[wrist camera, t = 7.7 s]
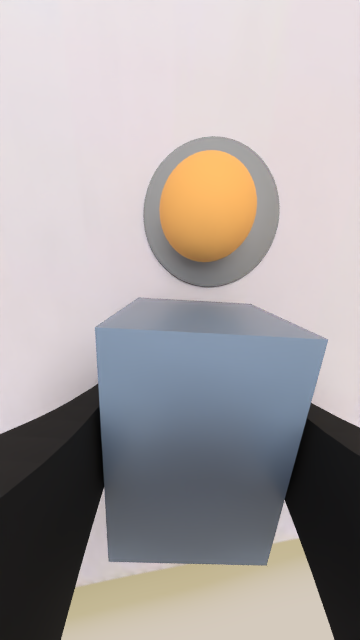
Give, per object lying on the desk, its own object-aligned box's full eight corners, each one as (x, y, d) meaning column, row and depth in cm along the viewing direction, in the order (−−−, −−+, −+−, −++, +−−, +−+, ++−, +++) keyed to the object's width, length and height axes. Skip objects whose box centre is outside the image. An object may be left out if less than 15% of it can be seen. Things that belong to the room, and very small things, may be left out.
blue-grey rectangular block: (229, 441, 12) (266, 565, 7) (138, 438, 12) (108, 561, 7) (250, 303, 10) (328, 339, 5) (138, 297, 10) (95, 327, 5)
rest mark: (210, 311, 11) (210, 312, 11) (116, 221, 10) (115, 220, 10) (304, 216, 10) (307, 215, 10) (211, 101, 9) (212, 98, 9)
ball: (230, 88, 6) (210, 178, 10) (127, 166, 6) (148, 223, 10) (301, 195, 6) (253, 241, 10) (200, 269, 6) (192, 285, 10)
